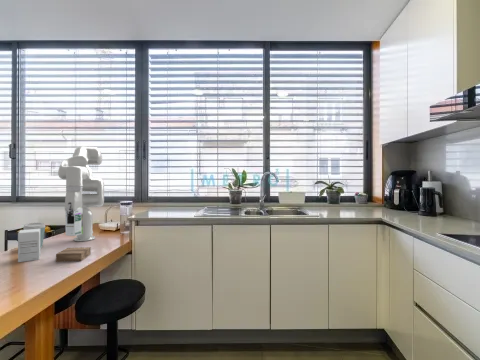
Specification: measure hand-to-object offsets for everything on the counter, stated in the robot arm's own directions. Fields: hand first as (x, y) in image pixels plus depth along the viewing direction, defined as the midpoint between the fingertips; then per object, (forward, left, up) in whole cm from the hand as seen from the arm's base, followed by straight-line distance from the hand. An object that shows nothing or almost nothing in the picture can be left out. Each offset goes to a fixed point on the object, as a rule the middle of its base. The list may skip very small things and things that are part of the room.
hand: (74, 222), depth 144 cm
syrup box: (0, 0, -7) cm, 7 cm away
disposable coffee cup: (-21, -31, -19) cm, 42 cm away
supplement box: (-1, -22, -20) cm, 30 cm away
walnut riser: (0, 0, -19) cm, 19 cm away
